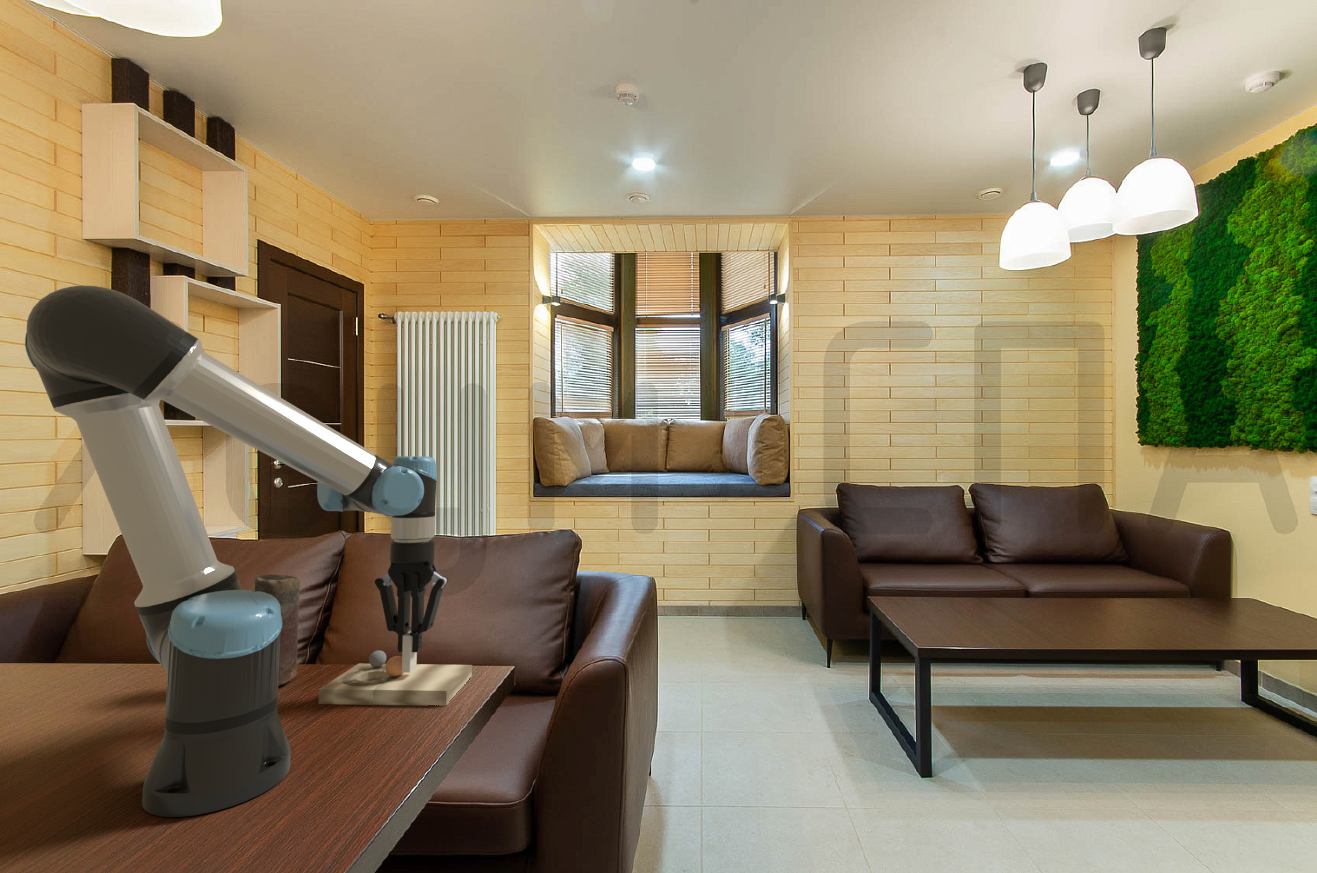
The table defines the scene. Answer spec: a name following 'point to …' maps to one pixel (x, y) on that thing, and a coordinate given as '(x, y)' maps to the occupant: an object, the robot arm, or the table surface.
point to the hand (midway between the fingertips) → (409, 669)
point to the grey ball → (377, 658)
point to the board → (396, 685)
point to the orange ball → (394, 666)
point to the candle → (284, 619)
